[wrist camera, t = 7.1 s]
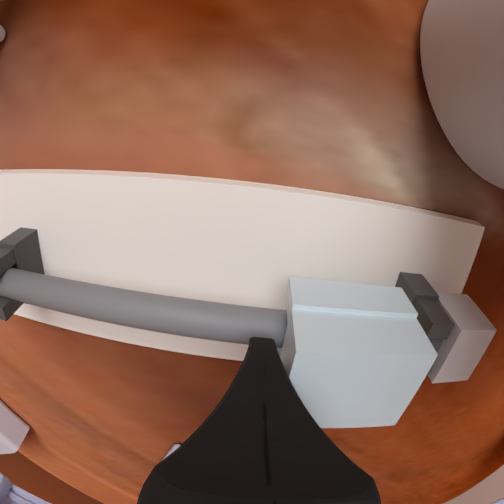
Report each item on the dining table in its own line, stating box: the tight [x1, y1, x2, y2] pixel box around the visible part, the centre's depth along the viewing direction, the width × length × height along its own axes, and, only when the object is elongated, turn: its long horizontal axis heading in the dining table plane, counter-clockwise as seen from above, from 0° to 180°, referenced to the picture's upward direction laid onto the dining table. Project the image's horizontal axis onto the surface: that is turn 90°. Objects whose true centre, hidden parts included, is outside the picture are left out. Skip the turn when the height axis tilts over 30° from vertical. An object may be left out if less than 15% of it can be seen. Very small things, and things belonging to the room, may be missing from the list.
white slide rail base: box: [0, 169, 497, 383], centre depth 14 cm, size 29×10×6 cm, turn 84°
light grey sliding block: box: [277, 276, 438, 428], centre depth 12 cm, size 5×4×4 cm
